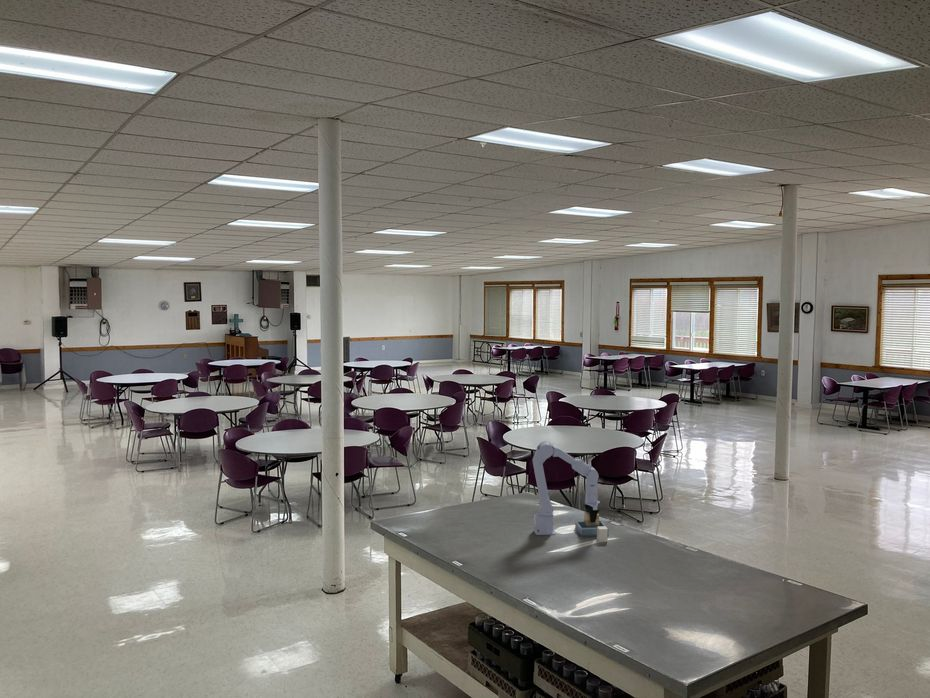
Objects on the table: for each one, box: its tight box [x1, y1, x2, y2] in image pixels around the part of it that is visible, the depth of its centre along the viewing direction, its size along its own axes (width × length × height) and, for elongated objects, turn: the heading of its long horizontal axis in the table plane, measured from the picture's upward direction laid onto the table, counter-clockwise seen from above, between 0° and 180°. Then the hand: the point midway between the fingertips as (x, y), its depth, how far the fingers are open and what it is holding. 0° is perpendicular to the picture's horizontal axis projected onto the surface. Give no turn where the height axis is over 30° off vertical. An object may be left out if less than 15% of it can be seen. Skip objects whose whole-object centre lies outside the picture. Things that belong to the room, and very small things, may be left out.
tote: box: [574, 520, 609, 538], centre depth 329 cm, size 13×13×4 cm
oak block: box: [583, 511, 600, 526], centre depth 329 cm, size 6×5×5 cm
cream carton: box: [596, 525, 609, 543], centre depth 318 cm, size 4×4×6 cm
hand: (591, 520), depth 329 cm, fingers closed on oak block, 5 cm apart
